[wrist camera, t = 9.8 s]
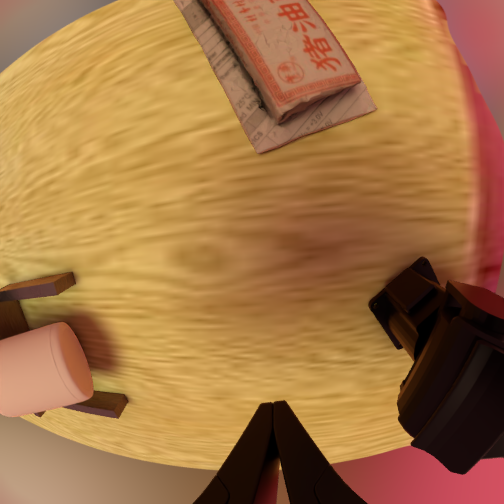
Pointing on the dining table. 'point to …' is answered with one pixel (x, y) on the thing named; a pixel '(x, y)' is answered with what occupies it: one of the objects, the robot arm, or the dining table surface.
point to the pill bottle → (43, 371)
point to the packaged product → (277, 67)
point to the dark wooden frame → (13, 323)
